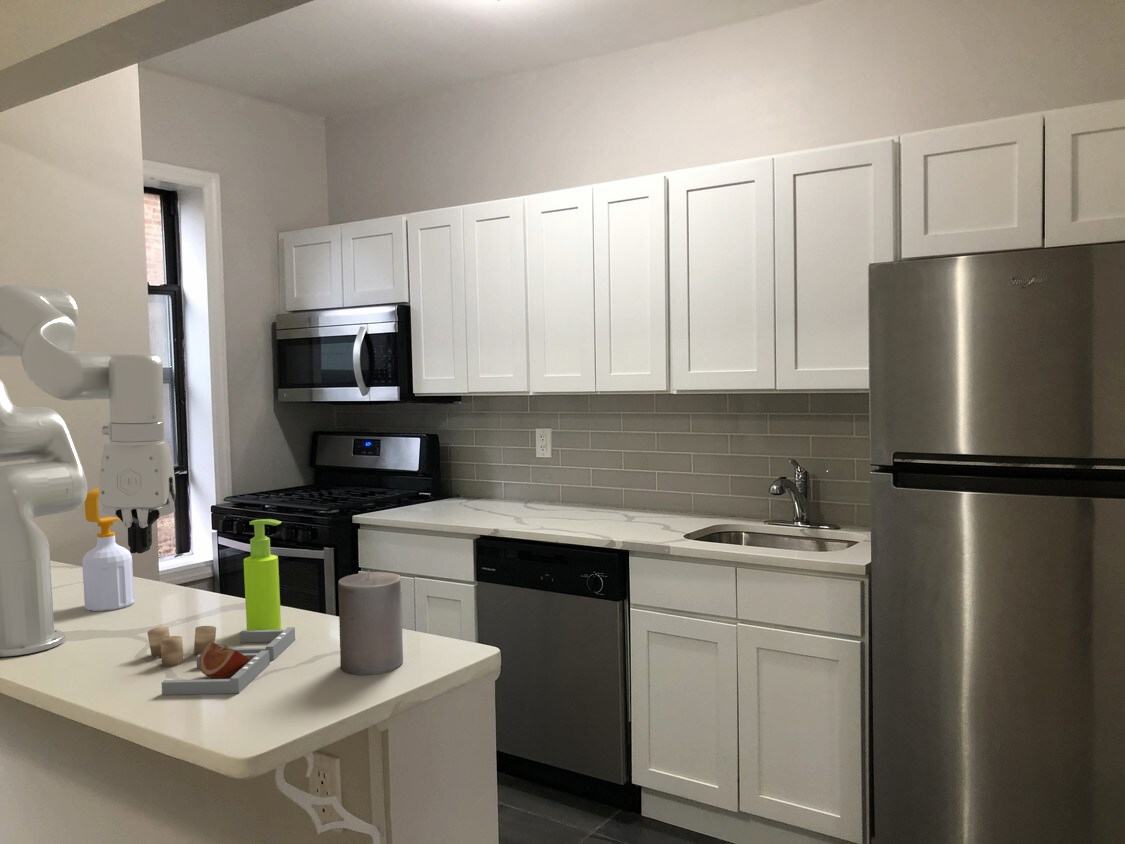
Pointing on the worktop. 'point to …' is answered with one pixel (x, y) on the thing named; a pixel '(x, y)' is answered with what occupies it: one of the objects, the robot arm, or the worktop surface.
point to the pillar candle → (370, 623)
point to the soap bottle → (106, 565)
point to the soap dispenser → (262, 581)
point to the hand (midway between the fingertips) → (140, 551)
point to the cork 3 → (203, 637)
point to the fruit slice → (221, 661)
